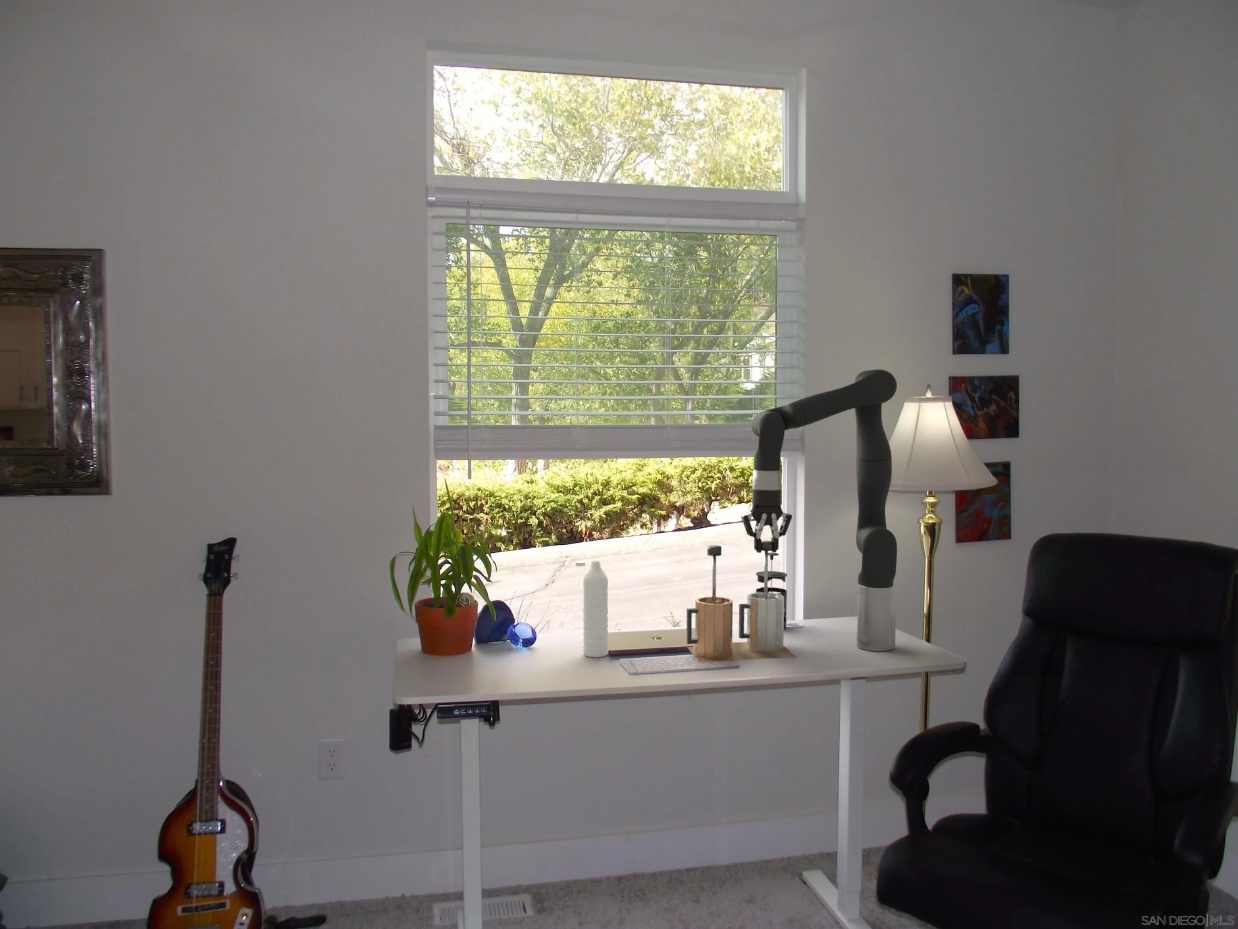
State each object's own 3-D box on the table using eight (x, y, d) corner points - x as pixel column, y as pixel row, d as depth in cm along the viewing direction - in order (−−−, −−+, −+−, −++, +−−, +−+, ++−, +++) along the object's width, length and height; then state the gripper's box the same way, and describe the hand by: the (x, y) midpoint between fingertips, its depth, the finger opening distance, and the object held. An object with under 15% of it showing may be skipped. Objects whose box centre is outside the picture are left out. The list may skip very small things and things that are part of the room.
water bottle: (602, 649, 235) (602, 558, 233) (611, 656, 229) (611, 561, 227) (571, 653, 231) (571, 560, 230) (580, 659, 225) (580, 564, 224)
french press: (793, 634, 250) (794, 555, 249) (761, 636, 249) (762, 556, 247) (778, 624, 262) (779, 549, 260) (748, 626, 260) (749, 549, 259)
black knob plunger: (722, 604, 230) (723, 544, 229) (729, 610, 223) (730, 548, 222) (698, 605, 229) (698, 544, 228) (704, 611, 222) (705, 548, 221)
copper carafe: (725, 647, 232) (726, 596, 231) (736, 657, 223) (736, 603, 222) (682, 649, 230) (683, 597, 229) (691, 659, 221) (691, 605, 220)
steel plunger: (773, 599, 235) (774, 539, 234) (781, 604, 229) (782, 543, 228) (749, 599, 234) (750, 540, 233) (757, 605, 228) (758, 543, 227)
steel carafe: (776, 642, 237) (776, 591, 237) (787, 651, 228) (788, 599, 227) (734, 644, 236) (734, 593, 235) (744, 653, 226) (745, 600, 226)
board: (776, 644, 240) (776, 640, 239) (797, 661, 224) (797, 657, 224) (684, 649, 235) (684, 644, 235) (699, 666, 220) (699, 661, 220)
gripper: (787, 485, 234) (786, 549, 235) (736, 486, 232) (736, 550, 233) (797, 488, 227) (796, 553, 228) (745, 489, 225) (744, 555, 226)
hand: (766, 551), depth 230 cm, fingers closed on steel plunger, 3 cm apart
